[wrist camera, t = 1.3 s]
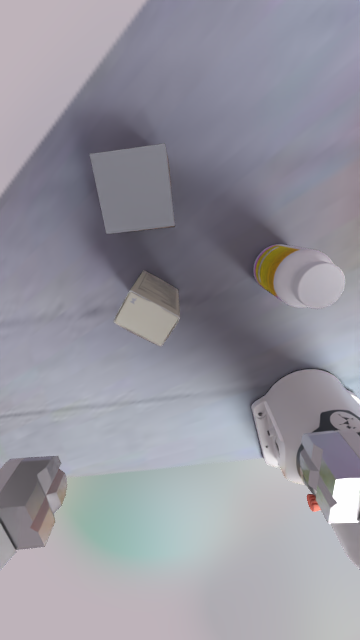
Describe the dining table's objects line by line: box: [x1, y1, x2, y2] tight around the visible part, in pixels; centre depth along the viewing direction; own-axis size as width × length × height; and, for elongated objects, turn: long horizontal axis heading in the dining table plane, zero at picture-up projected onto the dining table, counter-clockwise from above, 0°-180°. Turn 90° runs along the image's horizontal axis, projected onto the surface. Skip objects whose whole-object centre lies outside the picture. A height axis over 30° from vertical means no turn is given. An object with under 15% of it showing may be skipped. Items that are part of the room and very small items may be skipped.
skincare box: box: [113, 270, 180, 347], centre depth 32 cm, size 6×4×12 cm
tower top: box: [90, 143, 175, 234], centre depth 29 cm, size 8×8×4 cm
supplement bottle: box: [253, 244, 345, 309], centre depth 31 cm, size 7×7×13 cm
